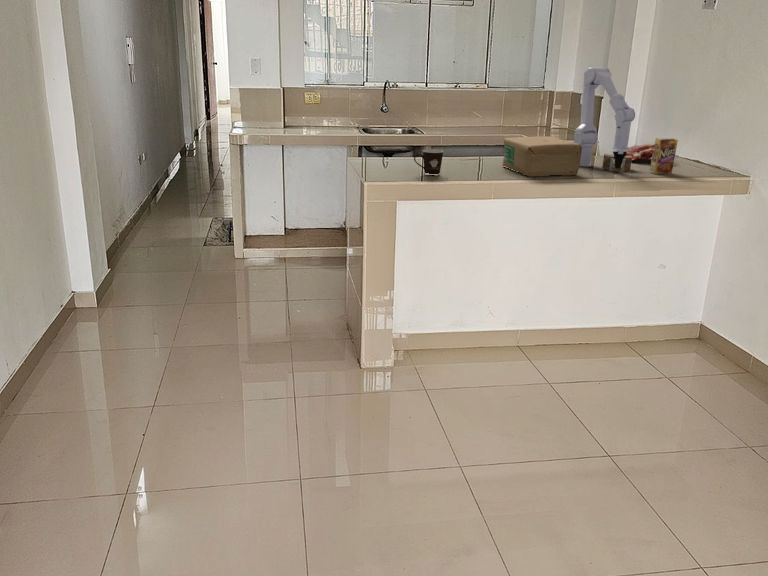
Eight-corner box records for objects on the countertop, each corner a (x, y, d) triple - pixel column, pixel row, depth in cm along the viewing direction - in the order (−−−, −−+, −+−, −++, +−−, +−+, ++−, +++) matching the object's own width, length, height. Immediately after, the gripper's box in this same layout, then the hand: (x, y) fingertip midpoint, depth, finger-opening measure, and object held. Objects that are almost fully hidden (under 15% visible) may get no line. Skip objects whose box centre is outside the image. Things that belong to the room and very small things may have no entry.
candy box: (654, 174, 298) (660, 139, 292) (649, 172, 301) (654, 138, 296) (672, 173, 299) (678, 139, 294) (666, 172, 303) (672, 137, 298)
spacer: (609, 170, 304) (610, 158, 302) (609, 170, 306) (610, 158, 304) (623, 171, 302) (625, 159, 301) (623, 171, 304) (625, 159, 302)
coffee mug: (444, 173, 289) (445, 150, 286) (439, 177, 282) (440, 153, 278) (418, 171, 293) (419, 148, 289) (412, 175, 285) (413, 151, 282)
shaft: (611, 171, 299) (612, 160, 298) (610, 167, 308) (612, 157, 307) (622, 172, 298) (624, 161, 296) (621, 168, 307) (623, 157, 305)
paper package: (499, 166, 309) (501, 136, 304) (549, 165, 315) (553, 135, 310) (525, 178, 285) (528, 144, 280) (579, 176, 291) (583, 143, 286)
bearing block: (602, 169, 307) (604, 156, 305) (602, 167, 312) (604, 154, 310) (630, 171, 304) (632, 157, 302) (629, 168, 309) (631, 155, 307)
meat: (622, 163, 323) (625, 142, 320) (620, 157, 343) (623, 137, 339) (669, 166, 319) (672, 145, 315) (663, 159, 338) (667, 139, 334)
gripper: (632, 139, 285) (627, 171, 289) (630, 135, 298) (626, 166, 302) (615, 138, 286) (610, 170, 291) (614, 134, 299) (609, 164, 304)
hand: (617, 168), depth 297 cm, fingers closed
